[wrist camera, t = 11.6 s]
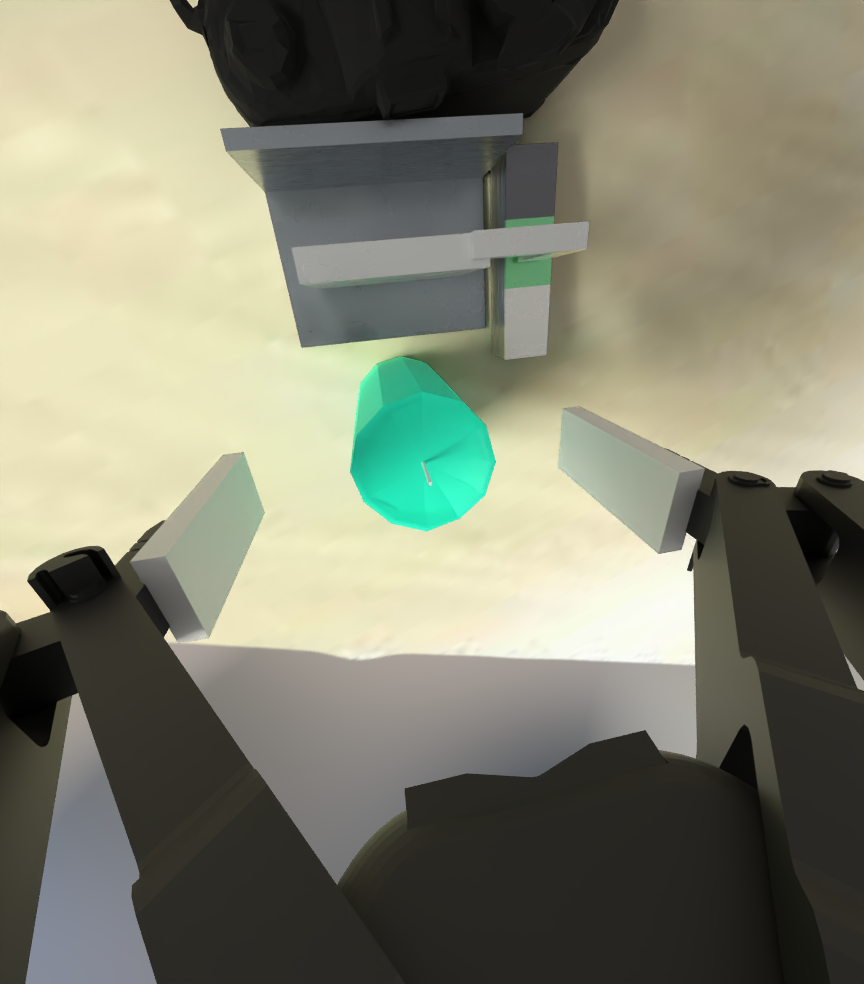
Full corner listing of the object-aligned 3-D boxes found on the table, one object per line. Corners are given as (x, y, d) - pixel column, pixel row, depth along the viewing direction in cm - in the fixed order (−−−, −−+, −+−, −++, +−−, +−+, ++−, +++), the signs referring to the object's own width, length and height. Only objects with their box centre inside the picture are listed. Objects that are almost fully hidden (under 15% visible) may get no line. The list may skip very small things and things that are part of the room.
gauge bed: (308, 375, 23) (290, 397, 17) (263, 178, 18) (220, 128, 13) (529, 349, 24) (575, 363, 19) (536, 160, 20) (598, 109, 14)
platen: (319, 289, 20) (297, 283, 14) (314, 263, 20) (288, 245, 13) (525, 270, 21) (593, 256, 15) (526, 245, 21) (596, 220, 14)
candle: (448, 444, 26) (502, 542, 16) (361, 450, 25) (357, 557, 15) (448, 354, 23) (514, 398, 13) (351, 357, 23) (337, 408, 12)
